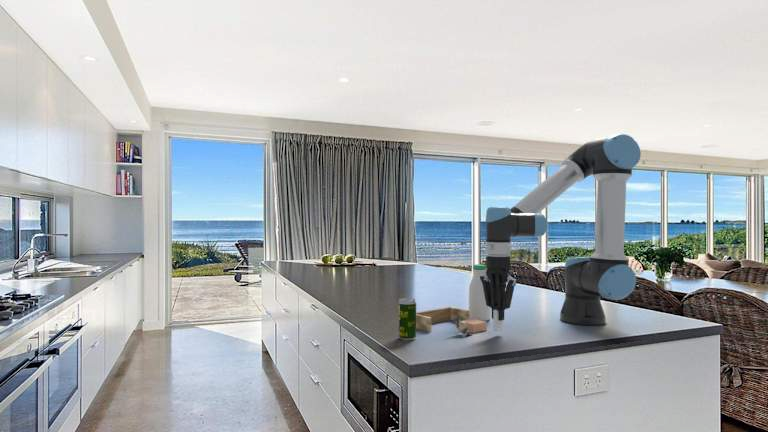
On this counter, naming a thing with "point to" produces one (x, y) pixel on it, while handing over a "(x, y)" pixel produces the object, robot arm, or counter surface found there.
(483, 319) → the milk bottle
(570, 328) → the counter surface
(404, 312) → the beer can
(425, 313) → the frame
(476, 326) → the tile
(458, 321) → the vase
